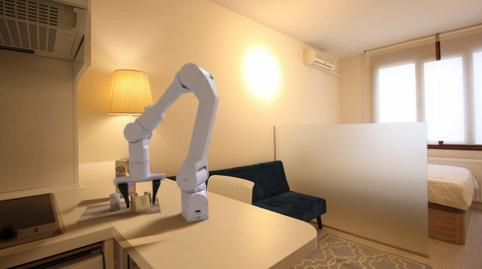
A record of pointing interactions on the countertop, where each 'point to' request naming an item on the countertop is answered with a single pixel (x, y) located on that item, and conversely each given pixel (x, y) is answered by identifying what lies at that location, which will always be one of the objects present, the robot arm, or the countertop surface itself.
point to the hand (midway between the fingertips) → (141, 205)
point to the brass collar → (140, 202)
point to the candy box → (123, 171)
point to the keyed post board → (113, 211)
